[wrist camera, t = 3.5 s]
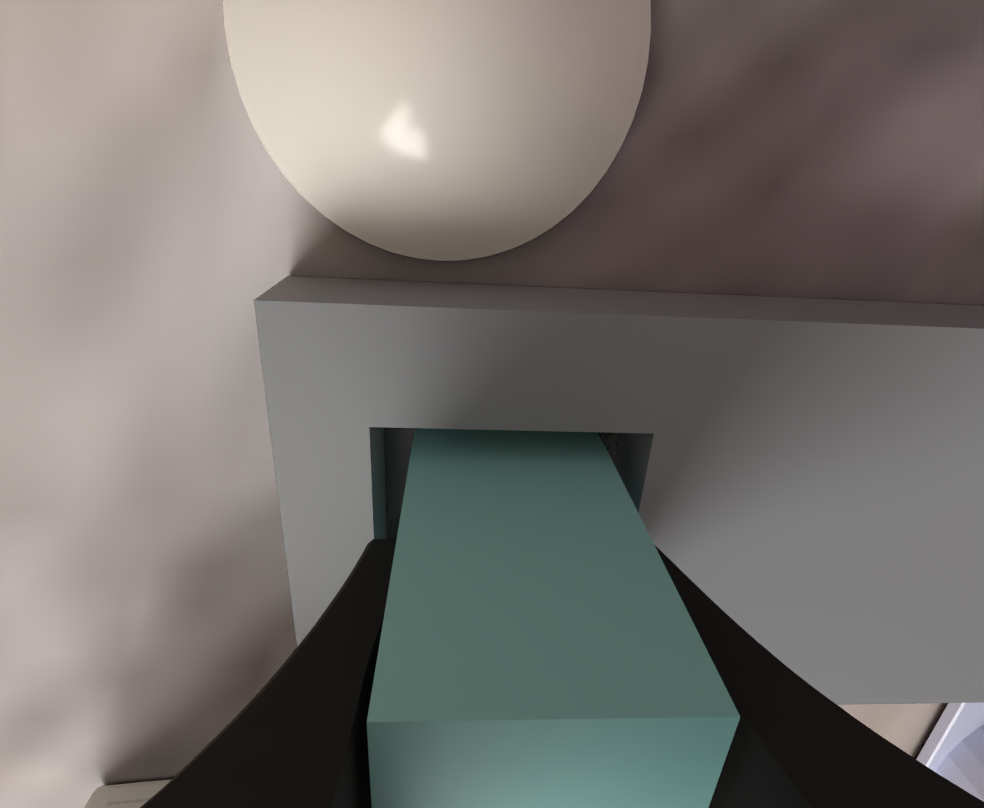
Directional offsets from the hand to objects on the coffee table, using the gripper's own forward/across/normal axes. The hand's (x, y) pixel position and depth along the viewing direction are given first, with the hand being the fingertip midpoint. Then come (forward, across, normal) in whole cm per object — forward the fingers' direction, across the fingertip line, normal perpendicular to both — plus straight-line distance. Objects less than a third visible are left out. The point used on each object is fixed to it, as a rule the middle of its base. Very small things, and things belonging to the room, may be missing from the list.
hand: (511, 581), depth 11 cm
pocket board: (+3, -4, 0) cm, 5 cm away
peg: (+3, 0, 0) cm, 3 cm away
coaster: (+3, +2, -9) cm, 10 cm away
